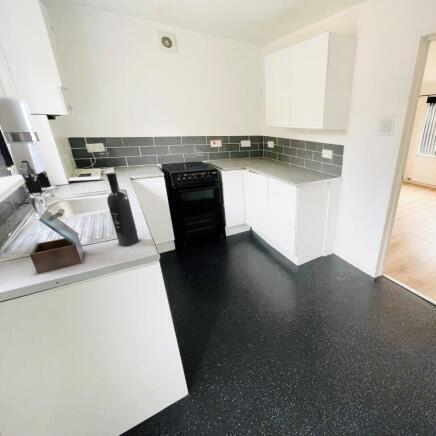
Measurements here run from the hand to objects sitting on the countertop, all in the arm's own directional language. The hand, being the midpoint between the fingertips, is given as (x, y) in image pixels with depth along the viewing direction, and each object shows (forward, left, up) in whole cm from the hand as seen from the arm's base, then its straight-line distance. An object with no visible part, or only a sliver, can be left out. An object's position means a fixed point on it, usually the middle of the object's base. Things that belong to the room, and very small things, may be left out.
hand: (40, 190), depth 85 cm
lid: (+5, -5, -13) cm, 15 cm away
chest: (+3, -6, -26) cm, 27 cm away
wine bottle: (+20, +7, -27) cm, 34 cm away
